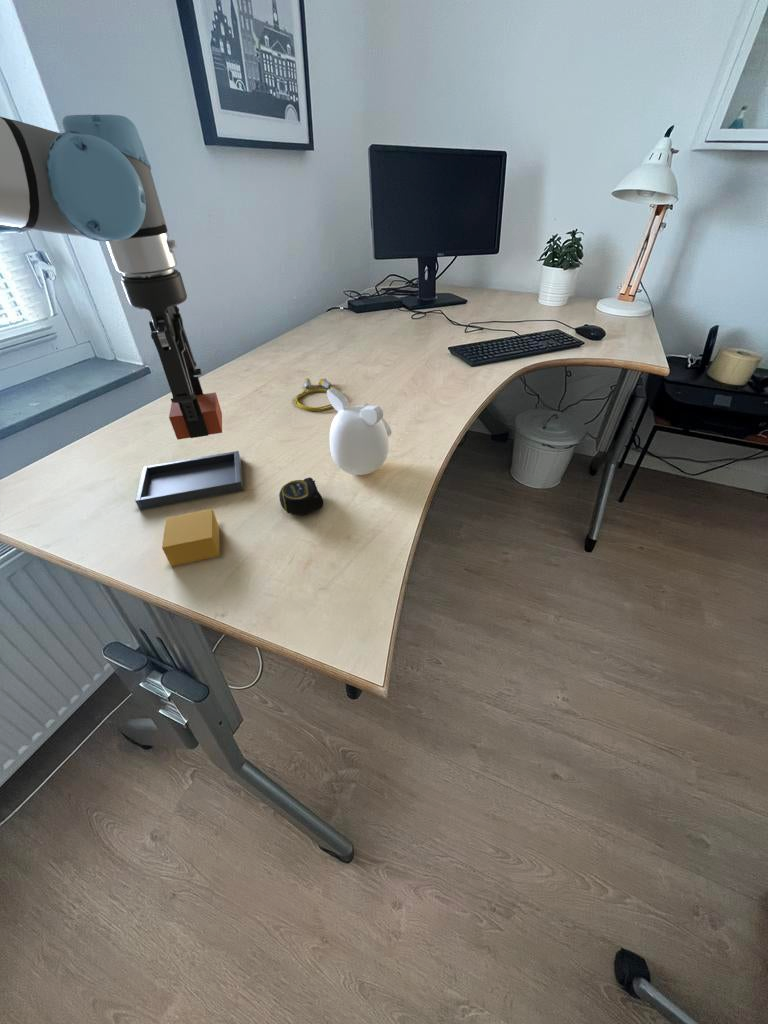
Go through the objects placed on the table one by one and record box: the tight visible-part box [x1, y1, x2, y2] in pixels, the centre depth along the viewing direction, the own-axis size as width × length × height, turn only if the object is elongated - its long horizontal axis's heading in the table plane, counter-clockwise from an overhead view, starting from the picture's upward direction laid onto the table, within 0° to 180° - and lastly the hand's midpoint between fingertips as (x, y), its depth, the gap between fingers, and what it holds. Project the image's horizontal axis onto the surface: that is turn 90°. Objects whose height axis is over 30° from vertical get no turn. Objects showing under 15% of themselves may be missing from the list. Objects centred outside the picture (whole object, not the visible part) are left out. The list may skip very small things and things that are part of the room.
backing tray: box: [135, 450, 244, 511], centre depth 80 cm, size 18×11×2 cm, turn 107°
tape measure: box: [278, 477, 324, 516], centre depth 74 cm, size 7×7×4 cm
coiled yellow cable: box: [294, 377, 334, 412], centre depth 107 cm, size 12×16×2 cm
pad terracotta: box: [168, 391, 223, 441], centre depth 72 cm, size 7×7×4 cm
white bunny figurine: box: [326, 387, 393, 476], centre depth 79 cm, size 12×12×15 cm
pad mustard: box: [161, 508, 220, 567], centre depth 67 cm, size 7×7×4 cm
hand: (200, 424), depth 73 cm, fingers closed on pad terracotta, 7 cm apart
